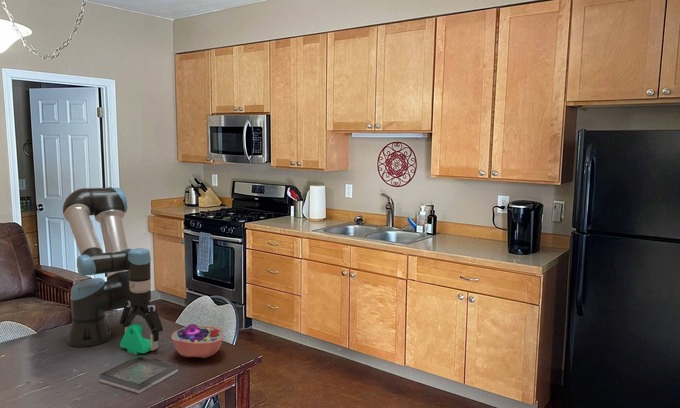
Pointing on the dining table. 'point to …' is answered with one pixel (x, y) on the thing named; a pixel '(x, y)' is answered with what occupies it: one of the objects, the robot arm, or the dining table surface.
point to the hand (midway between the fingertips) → (141, 346)
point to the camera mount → (135, 340)
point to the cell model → (197, 341)
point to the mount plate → (138, 373)
